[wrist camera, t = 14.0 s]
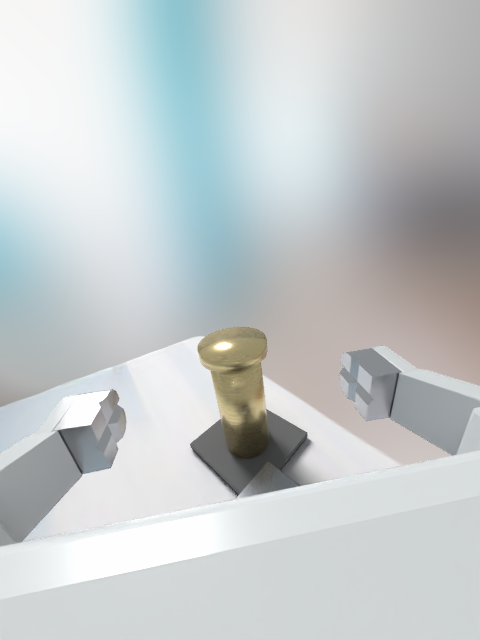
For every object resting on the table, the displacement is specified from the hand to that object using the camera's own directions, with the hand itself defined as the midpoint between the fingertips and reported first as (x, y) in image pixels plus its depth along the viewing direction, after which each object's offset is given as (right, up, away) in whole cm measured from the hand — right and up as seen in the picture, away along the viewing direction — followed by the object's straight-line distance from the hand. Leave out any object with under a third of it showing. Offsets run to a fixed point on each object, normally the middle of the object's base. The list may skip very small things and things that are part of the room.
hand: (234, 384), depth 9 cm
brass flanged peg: (+1, -12, +20) cm, 23 cm away
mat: (+1, -12, +20) cm, 24 cm away
